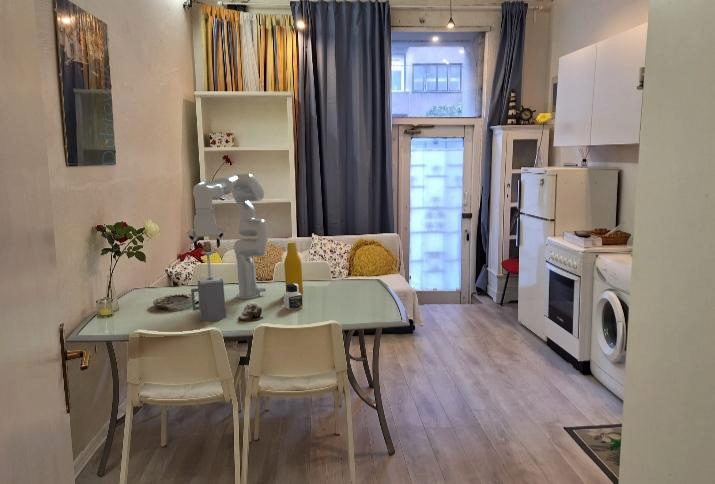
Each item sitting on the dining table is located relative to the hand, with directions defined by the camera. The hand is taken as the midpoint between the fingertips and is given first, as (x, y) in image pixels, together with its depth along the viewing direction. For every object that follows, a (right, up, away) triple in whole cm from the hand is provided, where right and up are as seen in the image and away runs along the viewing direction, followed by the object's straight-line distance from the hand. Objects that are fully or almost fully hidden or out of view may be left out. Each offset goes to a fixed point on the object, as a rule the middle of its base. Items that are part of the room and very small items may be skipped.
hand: (207, 248), depth 257 cm
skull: (+20, -33, +4) cm, 39 cm away
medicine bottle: (+38, -30, +18) cm, 52 cm away
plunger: (+1, -20, +3) cm, 20 cm away
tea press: (0, -33, +5) cm, 34 cm away
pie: (-25, -31, +30) cm, 50 cm away
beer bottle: (+36, -26, +42) cm, 61 cm away
